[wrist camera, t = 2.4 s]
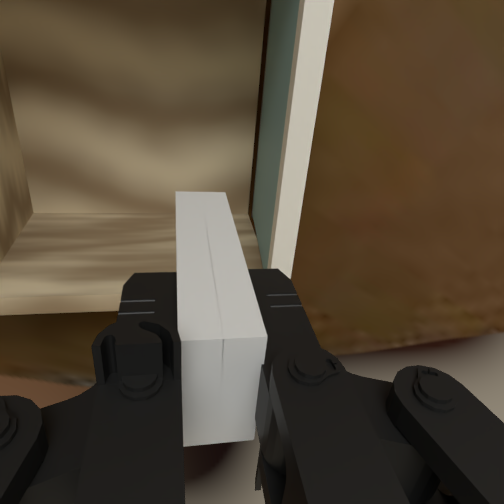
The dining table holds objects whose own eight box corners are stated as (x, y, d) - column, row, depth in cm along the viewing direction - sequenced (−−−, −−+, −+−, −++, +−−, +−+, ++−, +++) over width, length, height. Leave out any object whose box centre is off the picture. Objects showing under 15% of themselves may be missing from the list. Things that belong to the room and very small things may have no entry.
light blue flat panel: (272, -42, 26) (314, -79, 15) (291, -40, 26) (345, -75, 16) (249, 214, 35) (266, 305, 24) (263, 214, 35) (286, 305, 24)
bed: (-46, -102, 23) (-219, -188, 13) (268, -60, 26) (330, -102, 16) (23, 221, 33) (-43, 316, 23) (244, 221, 36) (274, 304, 26)
